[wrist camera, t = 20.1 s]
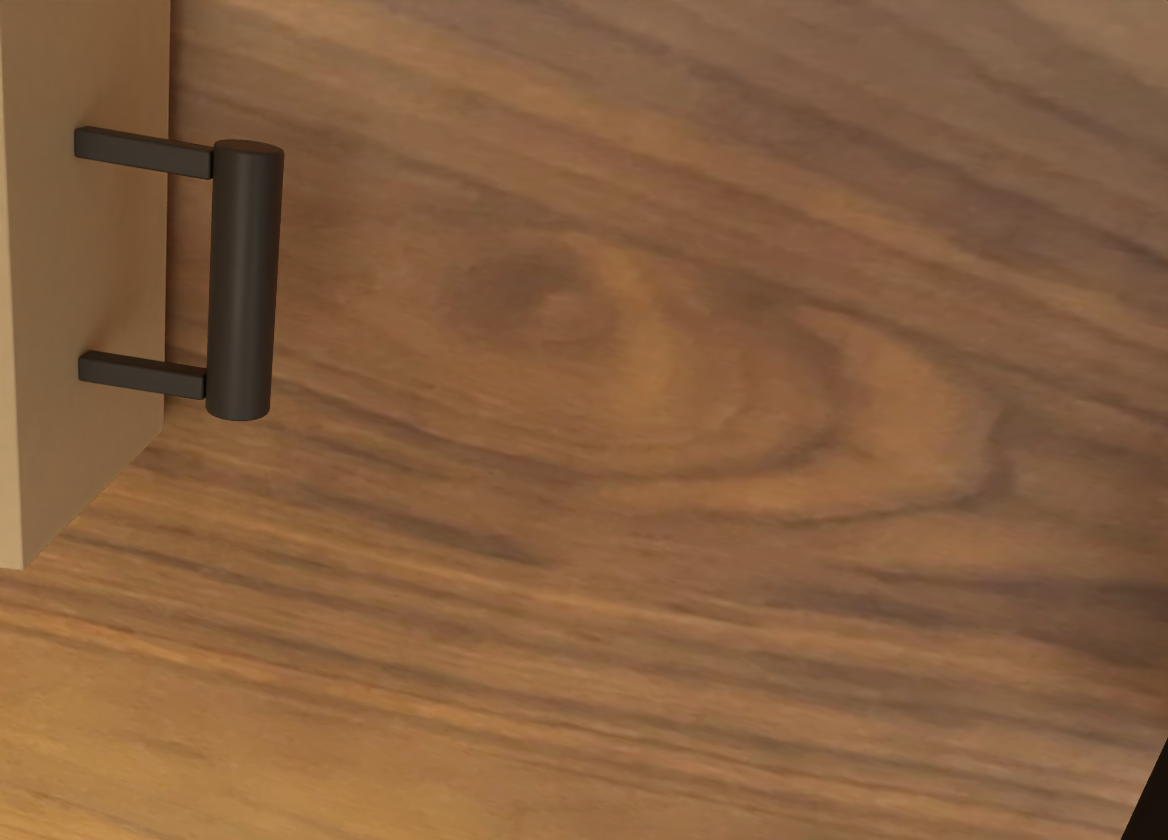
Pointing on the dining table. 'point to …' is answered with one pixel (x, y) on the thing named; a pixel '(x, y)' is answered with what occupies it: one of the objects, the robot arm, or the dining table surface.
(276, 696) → the dining table surface
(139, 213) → the drawer
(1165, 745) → the robot arm
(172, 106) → the dining table surface
